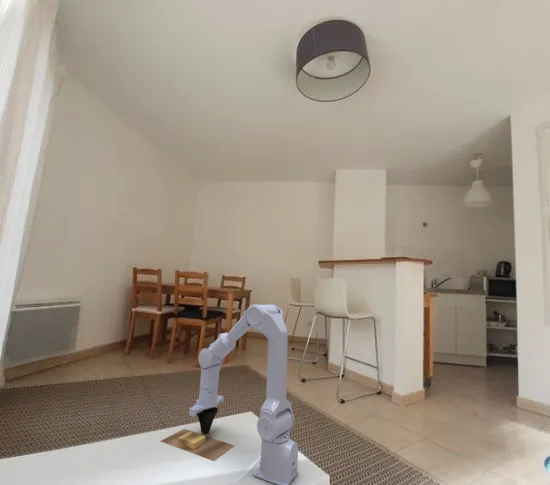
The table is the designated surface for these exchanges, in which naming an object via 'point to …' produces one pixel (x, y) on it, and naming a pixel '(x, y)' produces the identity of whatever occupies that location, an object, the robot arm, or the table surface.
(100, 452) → the table surface
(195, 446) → the tile
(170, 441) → the deck
